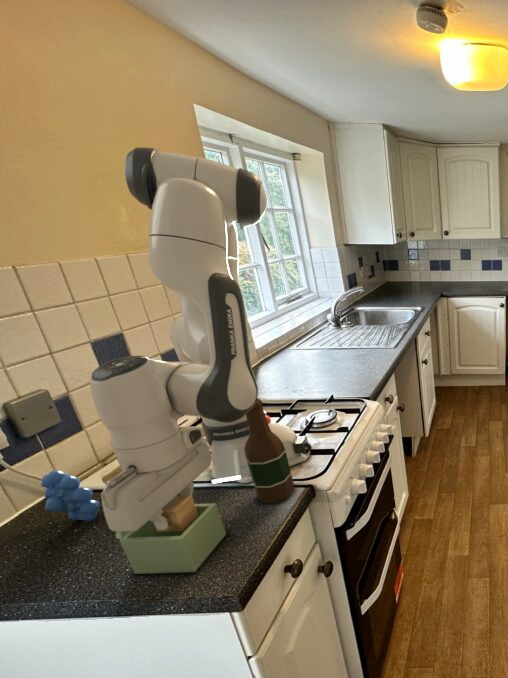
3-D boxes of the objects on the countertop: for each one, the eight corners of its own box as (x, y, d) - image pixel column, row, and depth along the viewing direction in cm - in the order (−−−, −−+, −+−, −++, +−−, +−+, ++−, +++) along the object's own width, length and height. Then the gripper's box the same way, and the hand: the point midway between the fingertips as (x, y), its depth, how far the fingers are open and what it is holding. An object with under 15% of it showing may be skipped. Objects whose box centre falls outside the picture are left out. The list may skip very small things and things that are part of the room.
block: (198, 514, 78) (191, 496, 77) (182, 531, 74) (175, 511, 72) (174, 515, 78) (167, 496, 76) (157, 531, 74) (149, 512, 72)
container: (226, 534, 84) (215, 503, 81) (194, 572, 75) (181, 539, 72) (173, 535, 83) (160, 504, 80) (134, 574, 74) (119, 540, 71)
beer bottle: (279, 480, 100) (255, 391, 91) (302, 488, 98) (280, 396, 88) (249, 499, 94) (221, 405, 84) (274, 508, 91) (247, 411, 82)
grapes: (36, 528, 85) (9, 480, 81) (75, 507, 91) (52, 461, 87) (78, 537, 83) (53, 488, 78) (115, 515, 89) (93, 468, 84)
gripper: (120, 487, 61) (151, 558, 66) (208, 423, 80) (226, 482, 85) (76, 488, 61) (110, 559, 66) (175, 423, 79) (195, 483, 85)
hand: (176, 515), depth 75 cm, fingers closed on block, 4 cm apart
